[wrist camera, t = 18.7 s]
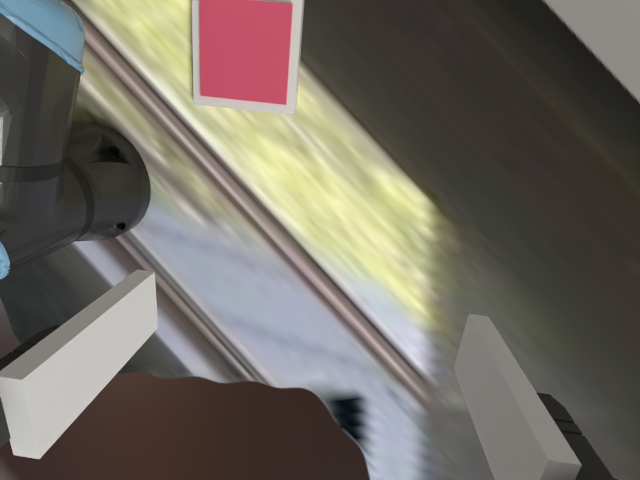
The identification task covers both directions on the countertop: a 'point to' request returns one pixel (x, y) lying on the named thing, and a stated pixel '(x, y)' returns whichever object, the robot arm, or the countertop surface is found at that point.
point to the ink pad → (247, 54)
